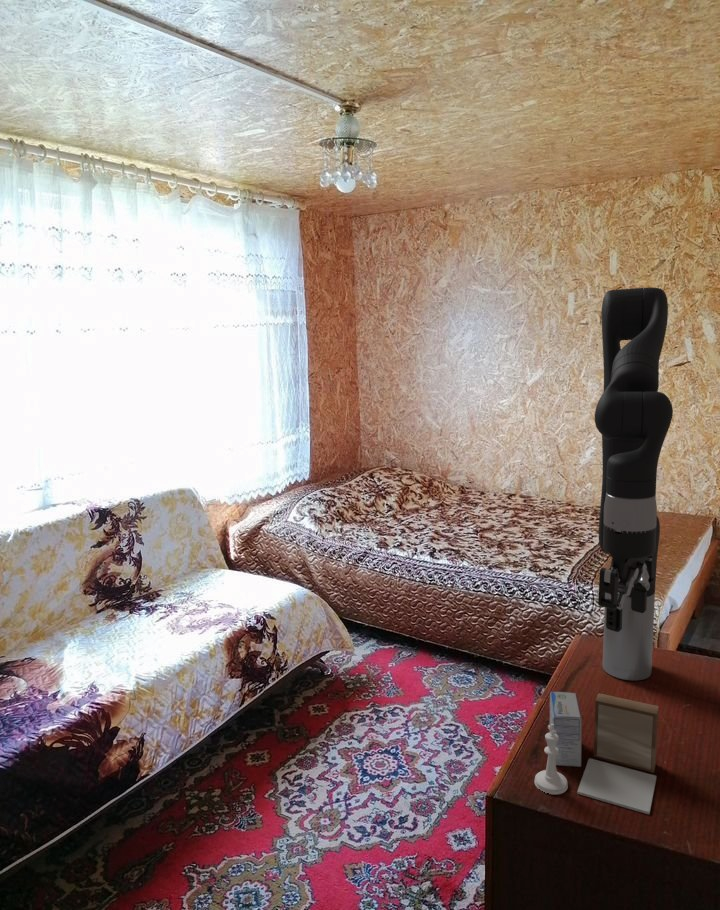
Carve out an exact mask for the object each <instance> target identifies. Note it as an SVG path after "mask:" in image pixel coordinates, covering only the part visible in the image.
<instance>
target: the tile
mask: <svg viewBox="0 0 720 910" xmlns="http://www.w3.org/2000/svg"><path fill="white" fill-rule="evenodd" d="M594 705H595V707H594V708H595V709H594V711H595V712H594V737H593V738H594V740H593V743H594V744H593V758H596V759H600V760H603V761H605V762H606V761H607V762H610V763H613V764H614V763H615V764H618V765H622V766H624V767H630V768H633V769H636V770H637V769H638V770H640V771H645V772H650V773H655V770H656V764H657V763H656V762H657V744H658V742H657V740H658V723H659V722H658V721H659V705H655V704H650V703H645V702H641V701H636V700H632V699H628V698H627V699H626V698H622V697H618V696H613V695H609V694H605V693H604V694H603V693H598V694H597V696H596V698H595V704H594Z"/></svg>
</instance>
